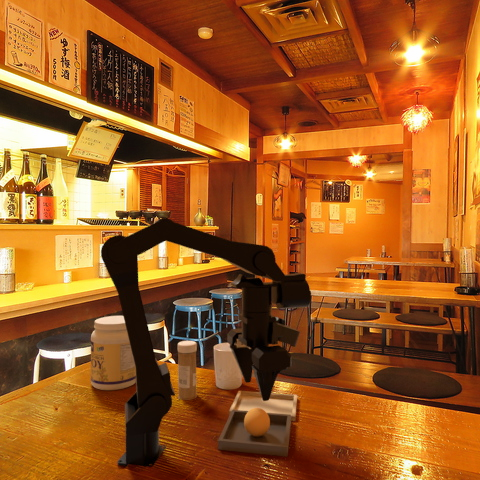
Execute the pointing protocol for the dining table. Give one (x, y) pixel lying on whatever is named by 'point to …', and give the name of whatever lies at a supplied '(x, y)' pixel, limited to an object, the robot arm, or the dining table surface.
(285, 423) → the dish
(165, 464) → the dining table surface
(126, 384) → the supplement tub
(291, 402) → the tray
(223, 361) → the white cup
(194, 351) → the sprinkles bottle
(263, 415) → the ball
